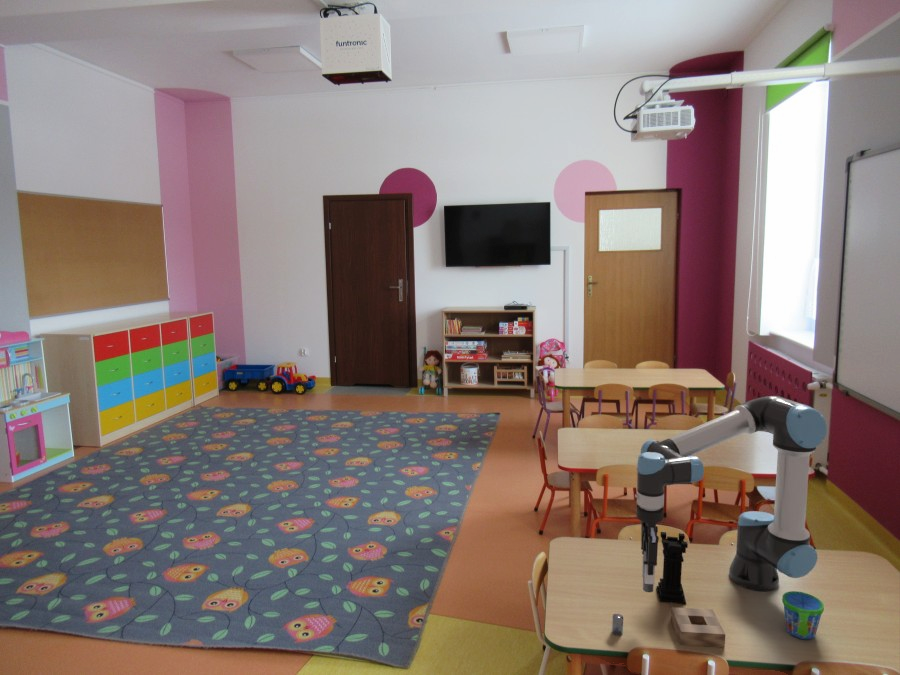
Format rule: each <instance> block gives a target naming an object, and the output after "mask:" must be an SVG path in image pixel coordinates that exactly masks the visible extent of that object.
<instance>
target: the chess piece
mask: <svg viewBox="0 0 900 675" xmlns="http://www.w3.org/2000/svg"><path fill="white" fill-rule="evenodd" d="M660 539H661V545H662V548H663V549H662V553H663V554H662V555H663V569H662V578H661V577H660V578H659V581H658V584H657V585H656V591H657V592H656V593H657V596H658V597H657V598H658V601H659V602H660V603H668V604H669V603H671V604H678V605H679V604H680V605H687V600H686V596H685V593H684V587H683V585H682V567H683V565H682V564H683V563H684V560H685V559H684V556H683V554H686V552H687V550H686V549H688V547H689V544H688V541H686V540H685V539H686V536H685V533H678V536H677V537H676V536H667V532H666V531H660Z"/></svg>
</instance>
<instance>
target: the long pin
mask: <svg viewBox="0 0 900 675" xmlns="http://www.w3.org/2000/svg"><path fill="white" fill-rule="evenodd" d="M643 556H644V560H643V559H642V560H643V561H646V550H644V555H643ZM642 590H643V591H644V592H646V593H652V592H653V591H654V584H645V564H644V563H643V577H642Z"/></svg>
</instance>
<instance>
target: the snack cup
mask: <svg viewBox="0 0 900 675" xmlns="http://www.w3.org/2000/svg"><path fill="white" fill-rule="evenodd" d="M781 600H782V604H783V611H784V612H783V614H784V622H785V628H786V630H787V633H788V634H790V635H792V636H794V637H795V638H798V639H800V640H811V639H814V638H815V637H816V634H817V631H818V628H819V624H820V621H821V616H822V614H823V612H824V610H825V606H824V603H823V601H821V600H820V599H819V598H817V597H816V596H814V595H812V594H810V593H806V592H802V591H795V590H793V591H787V592H784V593H783V595H782V599H781Z"/></svg>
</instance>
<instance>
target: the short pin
mask: <svg viewBox="0 0 900 675" xmlns="http://www.w3.org/2000/svg"><path fill="white" fill-rule="evenodd" d="M611 623H612V625H611V627H612V628H611V633H612V634H613V635H614V636H617V637H618V636H619V637H620V636H622V635H623V633H624V616H623V615H622V614H620V613H613V614H612V621H611Z"/></svg>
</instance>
